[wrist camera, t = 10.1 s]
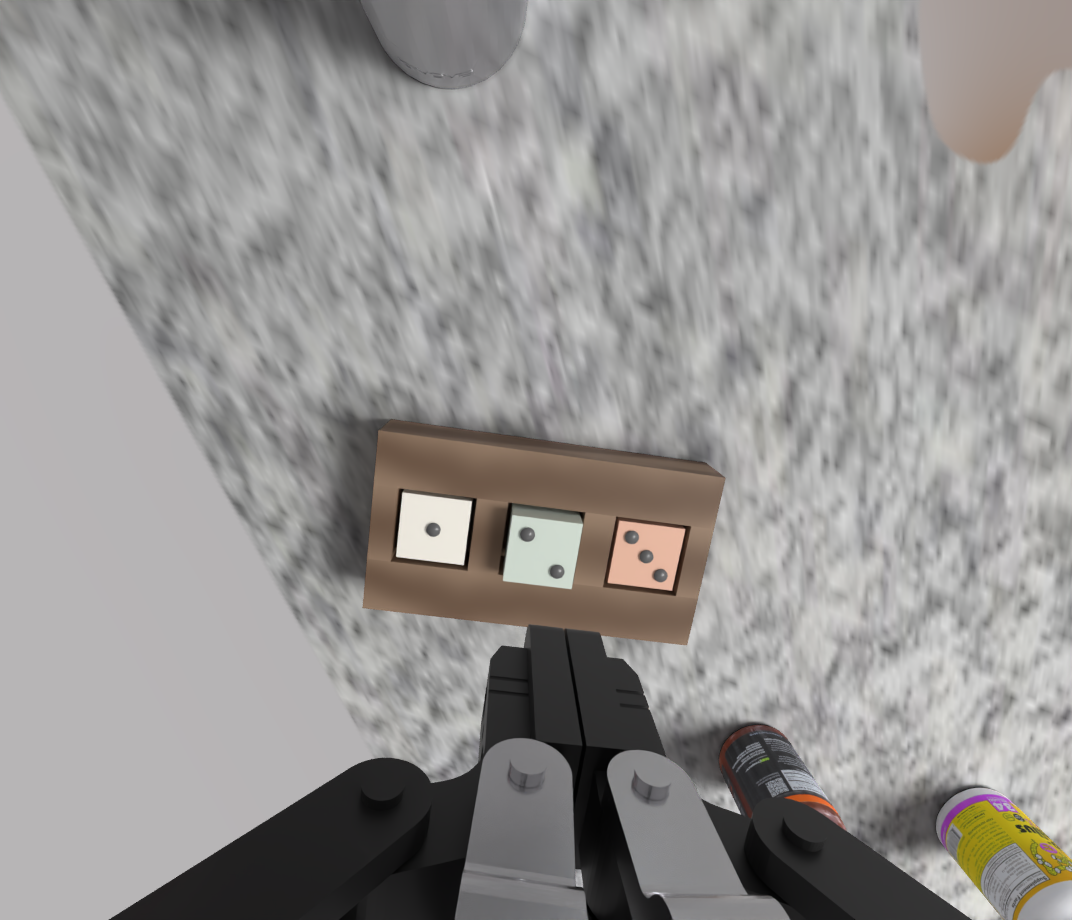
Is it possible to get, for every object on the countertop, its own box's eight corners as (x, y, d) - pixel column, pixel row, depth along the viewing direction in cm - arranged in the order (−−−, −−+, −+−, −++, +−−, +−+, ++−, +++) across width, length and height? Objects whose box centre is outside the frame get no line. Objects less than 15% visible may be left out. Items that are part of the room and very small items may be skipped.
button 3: (612, 506, 41) (619, 521, 38) (673, 514, 42) (685, 530, 39) (601, 564, 42) (608, 583, 39) (661, 571, 43) (672, 591, 40)
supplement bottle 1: (757, 795, 49) (828, 935, 38) (701, 761, 48) (758, 895, 37) (805, 743, 48) (892, 871, 37) (749, 707, 47) (821, 828, 36)
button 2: (512, 500, 39) (512, 515, 36) (577, 508, 40) (583, 525, 36) (503, 561, 40) (502, 582, 37) (567, 569, 41) (571, 590, 37)
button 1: (410, 479, 40) (402, 493, 37) (474, 488, 41) (471, 502, 38) (404, 540, 41) (395, 557, 38) (467, 547, 42) (463, 566, 39)
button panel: (391, 419, 40) (378, 430, 36) (705, 462, 42) (725, 477, 38) (376, 581, 43) (362, 608, 39) (671, 616, 44) (687, 645, 41)
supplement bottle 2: (1024, 813, 50) (1194, 977, 38) (962, 861, 51) (1108, 1037, 39) (977, 769, 49) (1137, 924, 36) (915, 819, 50) (1050, 987, 37)
